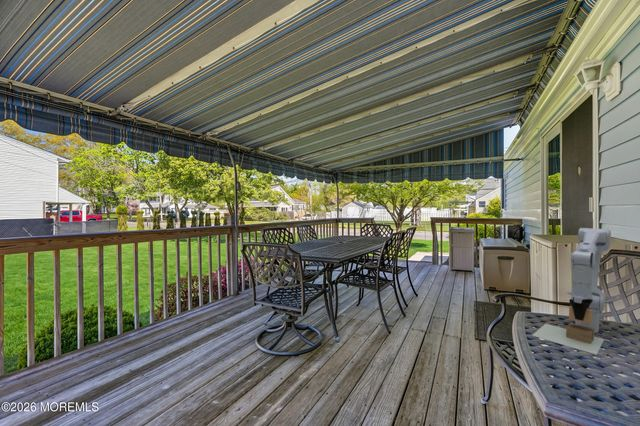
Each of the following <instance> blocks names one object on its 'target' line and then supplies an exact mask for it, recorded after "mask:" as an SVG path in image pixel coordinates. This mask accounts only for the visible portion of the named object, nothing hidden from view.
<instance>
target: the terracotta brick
mask: <svg viewBox="0 0 640 426" xmlns="http://www.w3.org/2000/svg"><path fill="white" fill-rule="evenodd" d="M568 309H569V311H568V312H569V313H568V319H569V320H573V321H575V320H577V319H575V316H574V311H573V308H572V305H571V304H570V305H569V307H568ZM592 311H593V309H589V308H587V309H586V312H585V316H584V319H583V321H581V320H577V321H581V322H585V323H589V324H590V323H591V322H592Z"/></svg>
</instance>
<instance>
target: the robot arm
mask: <svg viewBox="0 0 640 426" xmlns="http://www.w3.org/2000/svg"><path fill="white" fill-rule="evenodd" d="M611 237H612V232H611V229H609V228H607V229H605V228H592V227H591V228H590V227H580V228H579V229H578V232H577V239H578V245H577V247H576V250H575V251H572V252H571V255H570V262H571V263H570V265H571V270H572V274H571V291H566V292H567V295H571V296H570V297H571V298H570V299H569V303H570V306H571V305H572V308H573V311H574V316H575V319H577V320H581V321H583V319H584V316H585V312H586V309H587V308H589V309H593V311H592V322H591V323H590V324H589V323H585V322H581V321H577V320H574V321H575V323H574V324H578V325H582V326H586V327H590V328H594V334H596V333H597V334H598V333H599V331H600V330H599V329H600V328H599V327H600V313H603V312H604V311H605V308H606V295H605V293H604V291H603V290H601V289H600V288H598V282H599V281H598V279H599V271H600V263H601V256H602V255H603V252H608V251H609V248H610V247H611V246H610V245H611V244H610V243H611V239H612V238H611Z"/></svg>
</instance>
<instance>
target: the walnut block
mask: <svg viewBox="0 0 640 426" xmlns="http://www.w3.org/2000/svg"><path fill="white" fill-rule="evenodd" d="M565 329H566V337H567V338H571V339H575V340H578V341H582V342H585V343H589V344H591V343H592V341H593V340H594V337H595V333H594V328H590V327H586V326H582V325H578V324H575V323H573V322H569V324H567V325H566V328H565Z"/></svg>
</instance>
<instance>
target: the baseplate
mask: <svg viewBox="0 0 640 426" xmlns="http://www.w3.org/2000/svg"><path fill="white" fill-rule="evenodd" d="M531 336H533V337H536V338H539V339H543V340H547V341H549V342H552V343H556V344H560V345H563V346H566V347H569V348H572V349H576V350H580V351H584V352H587V353H590V354H593V355H595V356H597V354H598V353H599V350H600V348H601V347H602V345H603V343H604V341H605V339H604V338H602V337H601V338H600V337H597V336H594V340H593V341H592V343H591V344H589V343H585V342H582V341H578V340H575V339H571V338H567V337H566V328H563V327H560V326H555V325H552V324H549V323H548V324H547V323H544V325H542V326H541V327H539V329H538V330H536V331H535V332H534V333H533V334H532V335H531Z"/></svg>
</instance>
